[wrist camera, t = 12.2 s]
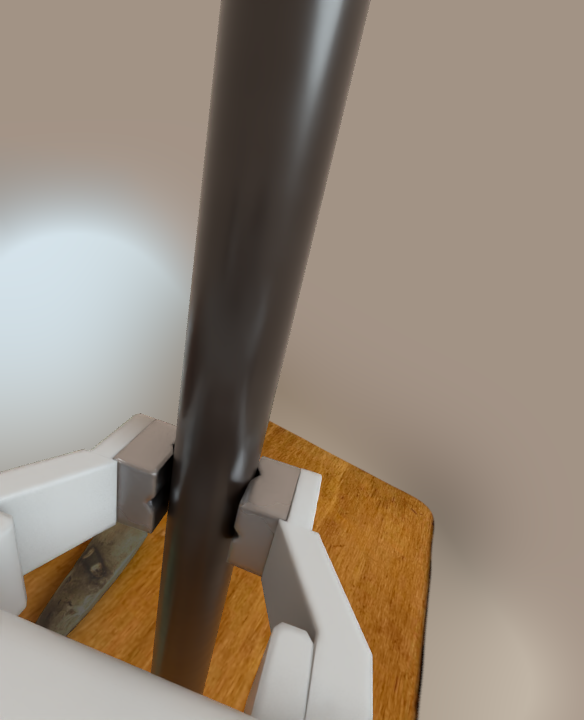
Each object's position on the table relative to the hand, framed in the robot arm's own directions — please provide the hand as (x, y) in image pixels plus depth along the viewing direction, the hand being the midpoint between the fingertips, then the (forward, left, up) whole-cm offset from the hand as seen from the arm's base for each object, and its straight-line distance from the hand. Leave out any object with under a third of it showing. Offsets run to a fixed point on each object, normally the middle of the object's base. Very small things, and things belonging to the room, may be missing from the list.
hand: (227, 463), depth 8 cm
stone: (-4, +19, -32) cm, 37 cm away
